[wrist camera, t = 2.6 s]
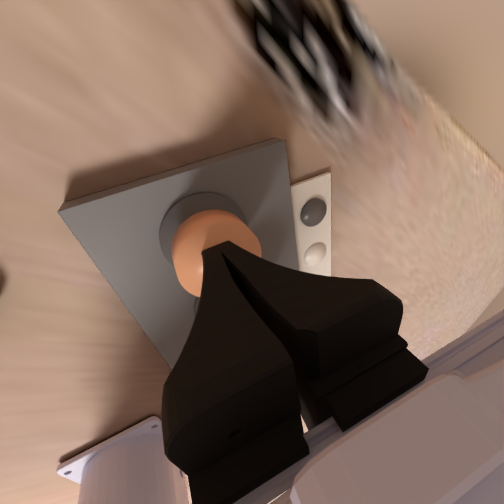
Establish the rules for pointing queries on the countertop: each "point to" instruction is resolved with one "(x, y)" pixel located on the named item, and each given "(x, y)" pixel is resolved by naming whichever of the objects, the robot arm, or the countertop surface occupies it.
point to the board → (168, 221)
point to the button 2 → (206, 243)
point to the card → (313, 223)
